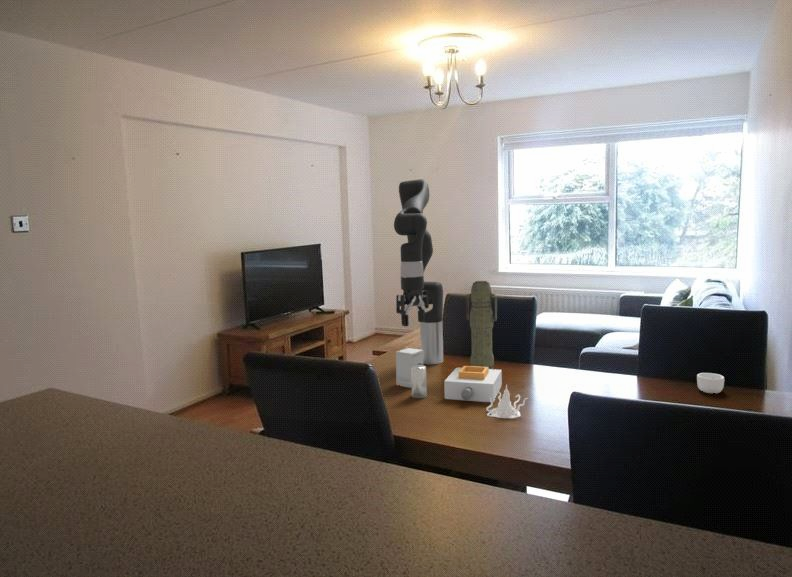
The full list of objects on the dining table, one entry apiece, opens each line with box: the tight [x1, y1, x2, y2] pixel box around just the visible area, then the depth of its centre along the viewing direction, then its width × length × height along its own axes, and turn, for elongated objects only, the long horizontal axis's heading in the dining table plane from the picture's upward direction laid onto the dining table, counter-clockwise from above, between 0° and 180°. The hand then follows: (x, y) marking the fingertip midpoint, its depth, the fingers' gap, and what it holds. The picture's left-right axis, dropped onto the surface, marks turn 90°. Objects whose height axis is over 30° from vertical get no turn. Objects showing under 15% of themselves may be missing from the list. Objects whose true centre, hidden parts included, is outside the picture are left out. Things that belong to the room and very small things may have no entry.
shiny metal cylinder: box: [411, 364, 428, 399], centre depth 184 cm, size 5×5×10 cm
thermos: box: [464, 280, 498, 369], centre depth 211 cm, size 9×12×35 cm
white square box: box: [443, 365, 503, 403], centre depth 185 cm, size 22×16×8 cm
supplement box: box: [395, 347, 424, 389], centre depth 198 cm, size 7×7×13 cm
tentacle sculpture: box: [486, 384, 529, 419], centre depth 165 cm, size 9×12×9 cm
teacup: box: [696, 372, 725, 394], centre depth 180 cm, size 10×8×5 cm
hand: (413, 324), depth 182 cm, fingers open, 8 cm apart
